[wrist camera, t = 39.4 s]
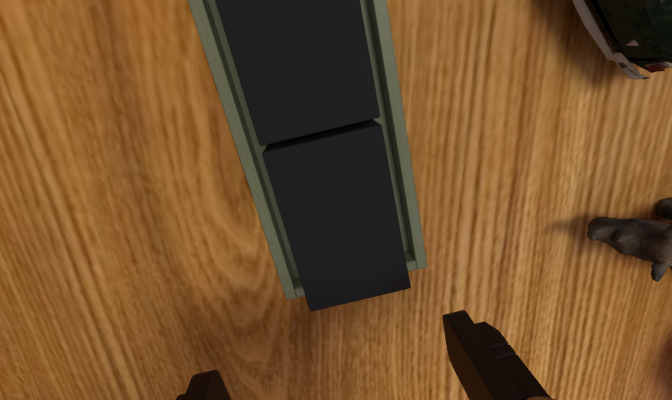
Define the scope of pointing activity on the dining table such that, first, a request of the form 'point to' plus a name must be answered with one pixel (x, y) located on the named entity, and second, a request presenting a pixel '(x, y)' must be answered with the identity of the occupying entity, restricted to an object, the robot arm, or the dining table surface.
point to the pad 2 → (339, 213)
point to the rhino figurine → (639, 237)
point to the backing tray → (251, 151)
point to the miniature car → (631, 32)
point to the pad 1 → (300, 64)
